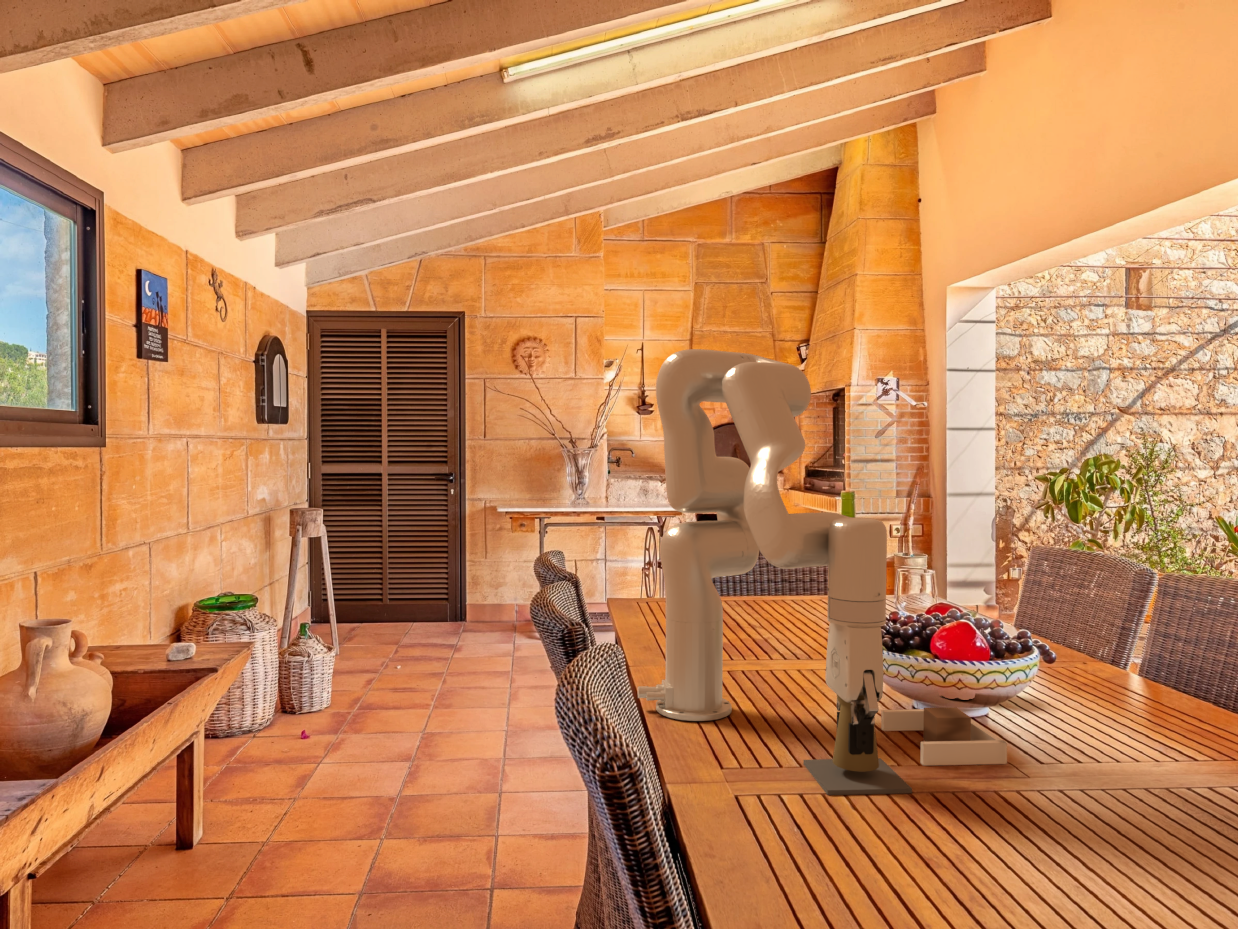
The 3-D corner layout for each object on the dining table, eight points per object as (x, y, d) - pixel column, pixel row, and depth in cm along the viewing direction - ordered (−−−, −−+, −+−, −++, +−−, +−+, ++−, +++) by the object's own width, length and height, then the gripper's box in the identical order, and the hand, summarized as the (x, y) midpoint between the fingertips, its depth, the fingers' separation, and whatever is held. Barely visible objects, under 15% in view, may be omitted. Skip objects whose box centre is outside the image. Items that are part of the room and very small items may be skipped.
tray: (923, 765, 122) (923, 744, 122) (881, 729, 138) (881, 709, 138) (1006, 763, 123) (1007, 742, 123) (955, 727, 139) (955, 708, 139)
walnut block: (936, 752, 128) (937, 717, 128) (923, 740, 133) (923, 707, 133) (970, 751, 129) (970, 717, 128) (955, 740, 134) (956, 707, 133)
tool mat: (827, 795, 112) (827, 790, 112) (803, 764, 123) (803, 759, 123) (912, 793, 113) (912, 788, 113) (880, 762, 124) (880, 758, 124)
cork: (881, 773, 114) (882, 689, 114) (833, 769, 115) (834, 686, 115) (877, 757, 120) (878, 677, 120) (831, 753, 121) (832, 674, 121)
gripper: (810, 600, 125) (809, 727, 126) (849, 624, 109) (847, 771, 109) (862, 599, 126) (860, 726, 126) (908, 623, 109) (906, 770, 110)
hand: (854, 745), depth 118 cm, fingers closed on cork, 4 cm apart
